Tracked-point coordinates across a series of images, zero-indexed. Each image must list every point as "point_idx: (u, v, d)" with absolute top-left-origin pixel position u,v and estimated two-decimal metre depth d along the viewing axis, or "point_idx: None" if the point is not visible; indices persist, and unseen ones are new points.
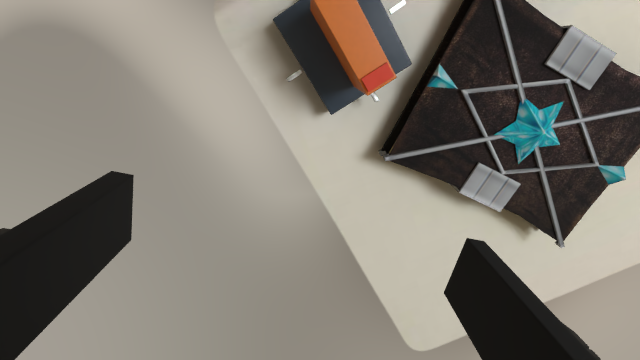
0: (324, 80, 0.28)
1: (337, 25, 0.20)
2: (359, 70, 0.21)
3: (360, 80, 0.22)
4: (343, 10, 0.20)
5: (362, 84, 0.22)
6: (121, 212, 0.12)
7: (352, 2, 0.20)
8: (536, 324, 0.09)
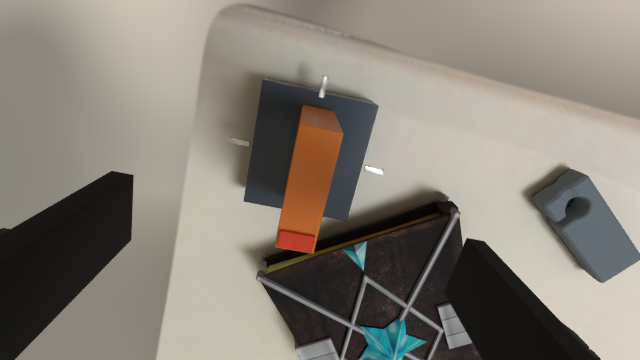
0: (263, 169, 0.24)
1: (299, 170, 0.17)
2: (286, 221, 0.18)
3: (279, 230, 0.18)
4: (316, 163, 0.17)
5: (278, 234, 0.18)
6: (121, 212, 0.12)
7: (329, 164, 0.17)
8: (536, 324, 0.09)
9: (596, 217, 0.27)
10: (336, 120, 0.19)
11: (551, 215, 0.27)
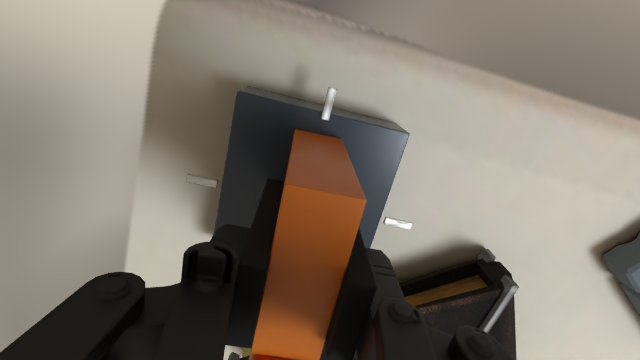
0: (237, 219, 0.17)
1: (286, 263, 0.09)
2: (263, 343, 0.10)
3: (252, 356, 0.10)
4: (316, 250, 0.09)
5: None
6: None
7: (340, 253, 0.09)
8: None
9: None
10: (348, 162, 0.12)
11: (634, 284, 0.20)
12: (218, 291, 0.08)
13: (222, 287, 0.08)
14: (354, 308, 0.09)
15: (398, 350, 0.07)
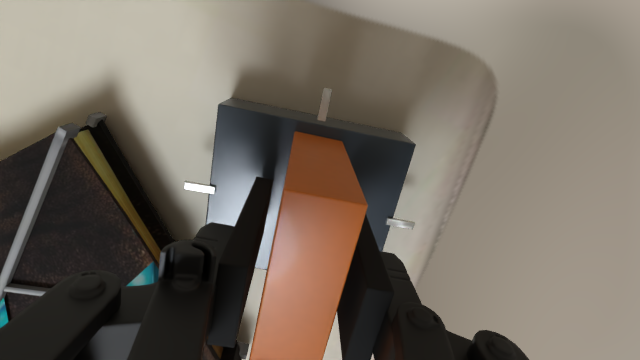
0: (279, 139, 0.15)
1: (285, 269, 0.09)
2: (262, 351, 0.10)
3: None
4: (316, 257, 0.09)
5: None
6: (267, 210, 0.14)
7: (341, 259, 0.09)
8: (355, 250, 0.11)
9: None
10: (349, 165, 0.12)
11: None
12: (196, 289, 0.08)
13: (201, 285, 0.08)
14: (371, 313, 0.09)
15: (417, 354, 0.07)
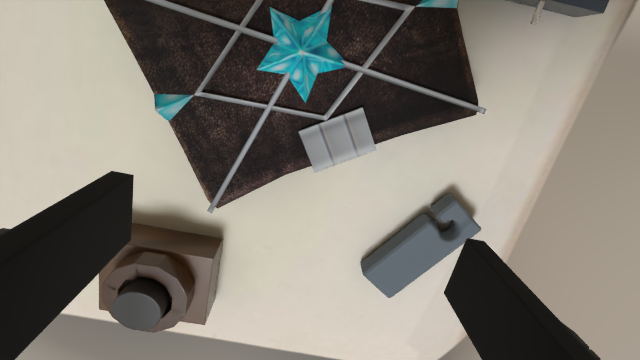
0: None
1: None
2: None
3: None
4: None
5: None
6: (121, 212, 0.12)
7: None
8: (536, 324, 0.09)
9: (439, 248, 0.29)
10: None
11: (445, 209, 0.28)
12: None
13: None
14: None
15: None
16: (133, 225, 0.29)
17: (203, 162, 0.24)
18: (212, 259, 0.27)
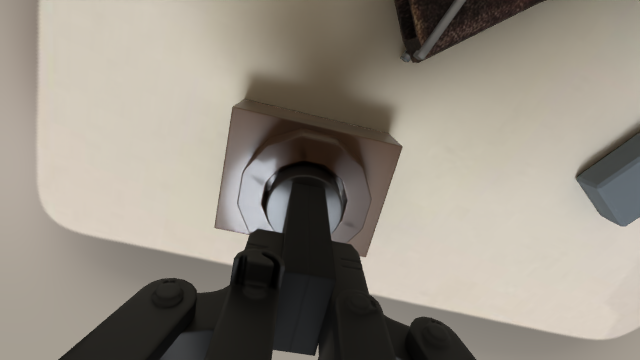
0: None
1: None
2: None
3: None
4: None
5: None
6: None
7: None
8: None
9: None
10: None
11: None
12: (265, 297, 0.08)
13: (268, 294, 0.08)
14: (314, 300, 0.09)
15: (354, 343, 0.07)
16: (265, 104, 0.19)
17: None
18: (401, 147, 0.18)
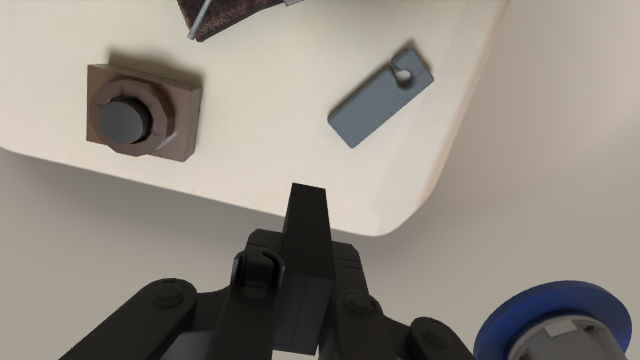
0: None
1: None
2: None
3: None
4: None
5: None
6: None
7: None
8: None
9: (396, 97, 0.32)
10: None
11: (401, 56, 0.31)
12: (265, 297, 0.08)
13: (268, 294, 0.08)
14: (314, 300, 0.09)
15: (354, 343, 0.07)
16: (120, 67, 0.32)
17: None
18: (191, 91, 0.30)
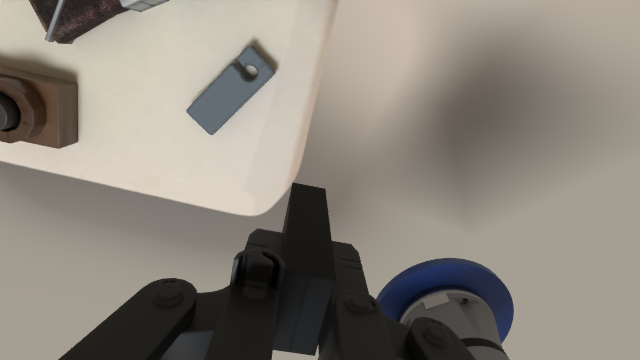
0: None
1: None
2: None
3: None
4: None
5: None
6: None
7: None
8: None
9: (242, 88, 0.37)
10: None
11: (241, 53, 0.36)
12: (265, 297, 0.08)
13: (268, 294, 0.08)
14: (314, 300, 0.09)
15: (354, 343, 0.07)
16: None
17: None
18: (56, 86, 0.35)
